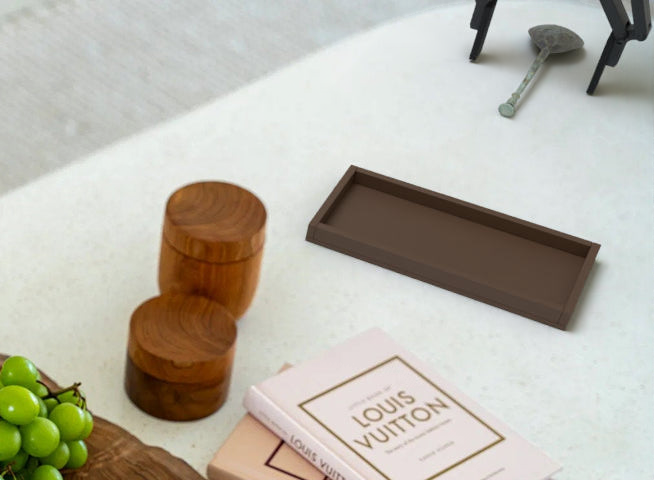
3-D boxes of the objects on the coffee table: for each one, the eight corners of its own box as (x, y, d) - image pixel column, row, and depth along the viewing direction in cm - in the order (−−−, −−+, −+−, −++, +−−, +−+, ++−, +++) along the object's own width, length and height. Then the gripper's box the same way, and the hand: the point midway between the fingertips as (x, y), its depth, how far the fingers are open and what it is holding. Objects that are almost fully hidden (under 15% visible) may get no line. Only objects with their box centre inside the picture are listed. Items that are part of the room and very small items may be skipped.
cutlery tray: (594, 260, 111) (601, 244, 109) (564, 331, 104) (572, 314, 102) (347, 180, 119) (351, 164, 118) (304, 240, 112) (308, 223, 111)
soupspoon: (587, 48, 139) (532, 34, 142) (595, 21, 137) (540, 8, 140) (532, 125, 126) (473, 109, 129) (540, 97, 124) (480, 81, 127)
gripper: (468, -128, 120) (418, 55, 136) (720, -71, 112) (636, 118, 127) (489, -152, 125) (438, 28, 140) (733, -99, 116) (650, 87, 132)
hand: (532, 71), depth 134 cm, fingers open, 13 cm apart
